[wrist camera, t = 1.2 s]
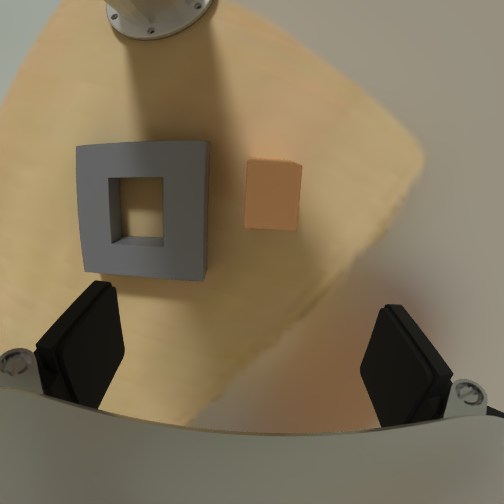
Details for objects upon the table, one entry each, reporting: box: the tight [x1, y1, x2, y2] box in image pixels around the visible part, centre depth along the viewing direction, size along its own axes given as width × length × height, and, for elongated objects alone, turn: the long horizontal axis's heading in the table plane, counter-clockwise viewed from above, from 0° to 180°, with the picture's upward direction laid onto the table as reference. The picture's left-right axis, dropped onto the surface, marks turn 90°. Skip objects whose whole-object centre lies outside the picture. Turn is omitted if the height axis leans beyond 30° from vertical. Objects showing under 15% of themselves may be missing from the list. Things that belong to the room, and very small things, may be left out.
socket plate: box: [76, 141, 210, 281], centre depth 30 cm, size 14×14×3 cm
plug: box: [244, 157, 302, 231], centre depth 27 cm, size 5×4×9 cm
